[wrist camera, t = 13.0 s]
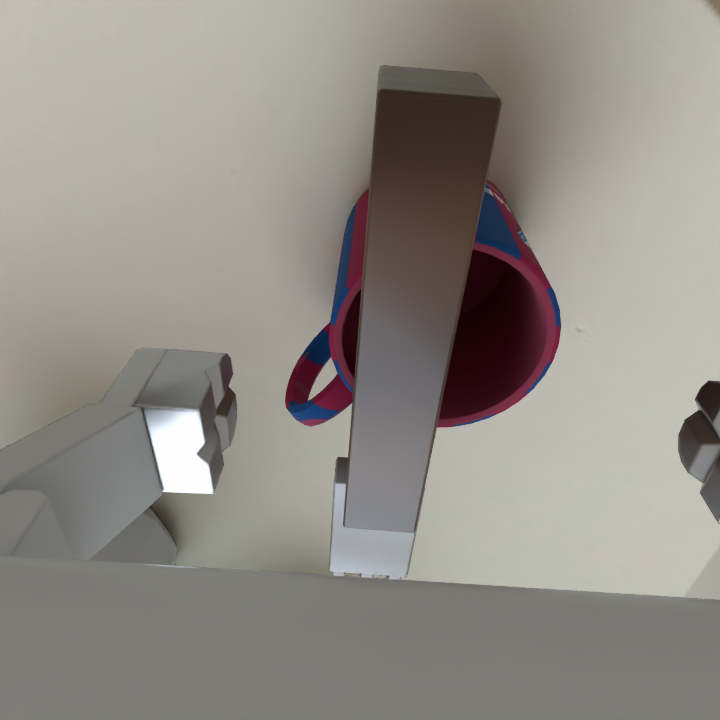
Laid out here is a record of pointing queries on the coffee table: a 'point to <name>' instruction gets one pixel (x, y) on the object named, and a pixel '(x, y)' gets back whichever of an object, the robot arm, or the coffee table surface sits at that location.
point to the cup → (473, 334)
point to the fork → (409, 304)
